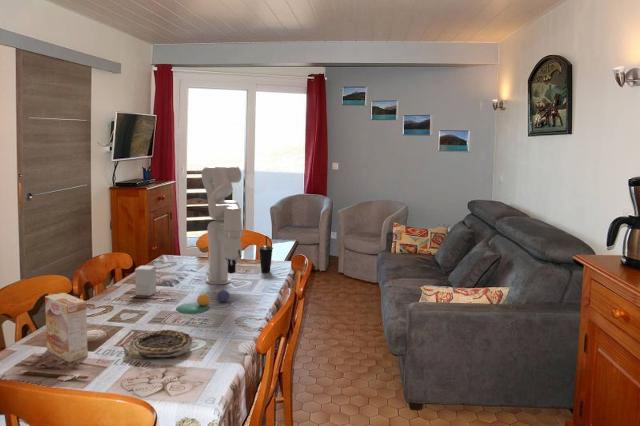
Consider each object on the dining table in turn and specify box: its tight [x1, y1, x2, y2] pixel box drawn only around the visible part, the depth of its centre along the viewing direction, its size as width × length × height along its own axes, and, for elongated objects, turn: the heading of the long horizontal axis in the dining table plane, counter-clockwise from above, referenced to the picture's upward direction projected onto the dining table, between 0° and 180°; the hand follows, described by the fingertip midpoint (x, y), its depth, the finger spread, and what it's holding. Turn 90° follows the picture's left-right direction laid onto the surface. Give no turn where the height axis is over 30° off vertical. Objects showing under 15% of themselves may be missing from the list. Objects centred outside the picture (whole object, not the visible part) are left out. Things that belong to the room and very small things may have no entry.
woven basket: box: [123, 329, 193, 362], centre depth 193 cm, size 28×27×5 cm
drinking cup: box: [258, 236, 274, 274], centre depth 305 cm, size 8×8×20 cm
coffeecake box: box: [44, 292, 89, 363], centre depth 187 cm, size 15×7×20 cm, turn 52°
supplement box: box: [134, 265, 157, 296], centre depth 258 cm, size 7×7×13 cm
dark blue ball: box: [216, 289, 230, 303], centre depth 249 cm, size 6×6×6 cm
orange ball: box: [196, 293, 211, 306], centre depth 243 cm, size 6×6×6 cm
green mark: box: [176, 302, 210, 315], centre depth 240 cm, size 14×14×1 cm
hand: (231, 272), depth 254 cm, fingers closed
